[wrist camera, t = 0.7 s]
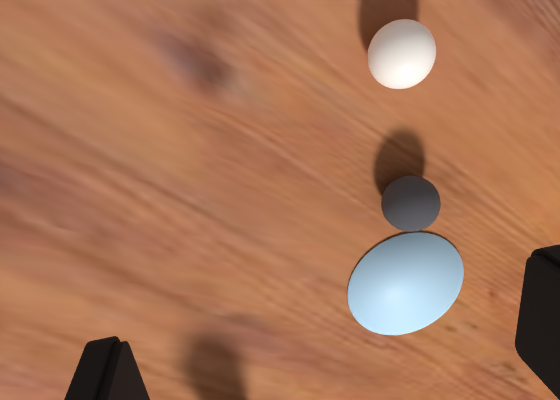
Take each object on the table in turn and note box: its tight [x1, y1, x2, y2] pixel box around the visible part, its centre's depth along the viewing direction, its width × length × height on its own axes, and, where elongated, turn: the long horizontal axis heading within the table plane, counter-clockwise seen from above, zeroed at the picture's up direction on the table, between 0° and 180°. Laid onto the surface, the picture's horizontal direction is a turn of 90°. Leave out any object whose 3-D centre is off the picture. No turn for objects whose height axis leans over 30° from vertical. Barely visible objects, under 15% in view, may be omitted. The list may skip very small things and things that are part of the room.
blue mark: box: [347, 232, 464, 335], centre depth 47 cm, size 14×14×1 cm
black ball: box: [381, 175, 440, 232], centre depth 40 cm, size 6×6×6 cm
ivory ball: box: [367, 19, 436, 89], centre depth 34 cm, size 6×6×6 cm
